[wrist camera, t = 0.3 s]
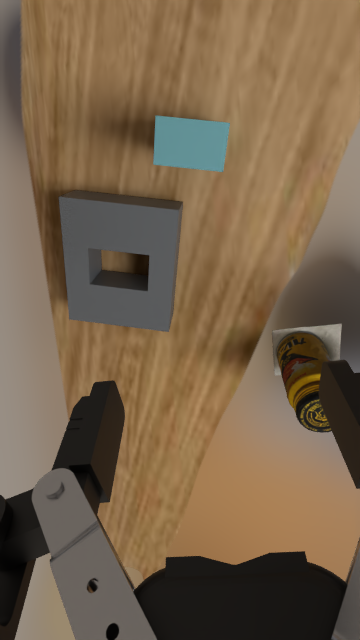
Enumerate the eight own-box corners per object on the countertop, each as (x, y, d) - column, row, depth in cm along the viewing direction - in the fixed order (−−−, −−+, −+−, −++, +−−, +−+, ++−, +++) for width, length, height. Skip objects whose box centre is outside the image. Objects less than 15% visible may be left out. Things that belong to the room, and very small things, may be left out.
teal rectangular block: (175, 120, 33) (155, 115, 22) (225, 126, 33) (229, 122, 22) (172, 154, 34) (153, 164, 24) (221, 159, 34) (223, 171, 24)
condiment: (271, 329, 43) (289, 392, 33) (341, 322, 42) (382, 386, 31) (274, 374, 47) (290, 443, 36) (338, 369, 45) (374, 440, 35)
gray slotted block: (75, 189, 37) (58, 196, 33) (183, 201, 36) (178, 210, 33) (82, 302, 44) (69, 319, 40) (173, 313, 43) (168, 331, 40)
